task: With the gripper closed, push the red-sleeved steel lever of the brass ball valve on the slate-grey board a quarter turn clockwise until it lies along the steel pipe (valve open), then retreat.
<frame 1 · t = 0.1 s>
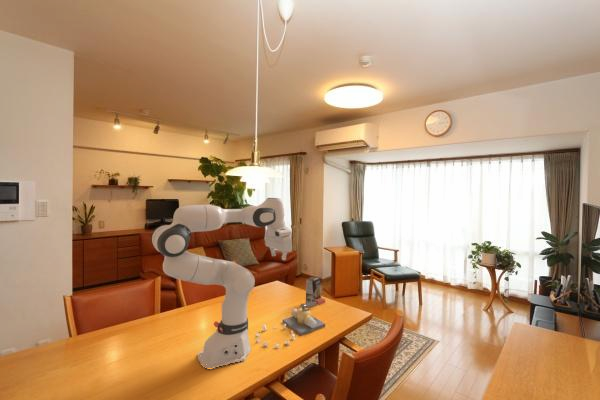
hand: (278, 257, 135), 39 cm above the table, tool pointing down, fingers open, 8 cm apart
valve lever: (312, 303, 151), point 10 cm above the table, hinge at 0.0°
coffee box: (313, 303, 176), on the table
valve base: (303, 324, 148), on the table
game piece set: (275, 338, 135), on the table
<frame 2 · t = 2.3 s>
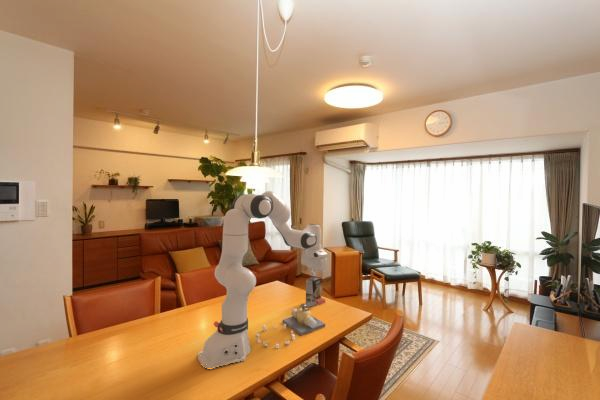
hand: (313, 275, 159), 23 cm above the table, tool pointing down, fingers closed
nothing on the table moved.
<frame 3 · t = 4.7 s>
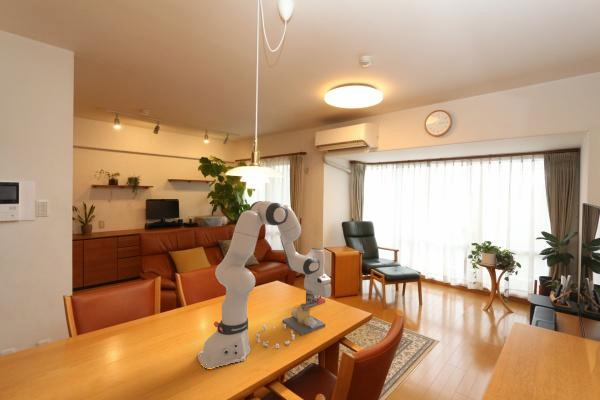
hand: (316, 300, 157), 10 cm above the table, tool pointing down, fingers closed
valve lever: (312, 303, 151), point 10 cm above the table, hinge at 0.0°, touching gripper
everything else where it was.
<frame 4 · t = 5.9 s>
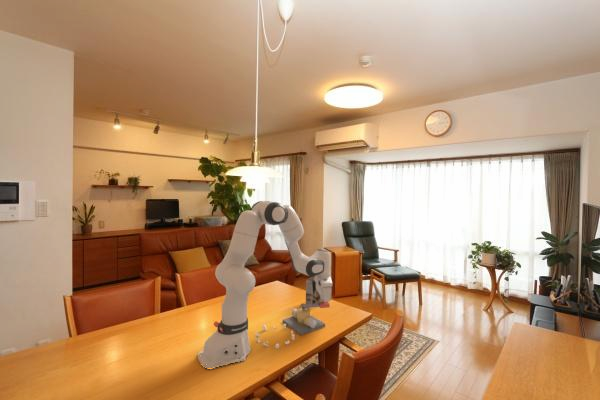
hand: (322, 303, 152), 10 cm above the table, tool pointing down, fingers closed
valve lever: (315, 305, 149), point 10 cm above the table, hinge at 24.7°, touching gripper
everything else where it was.
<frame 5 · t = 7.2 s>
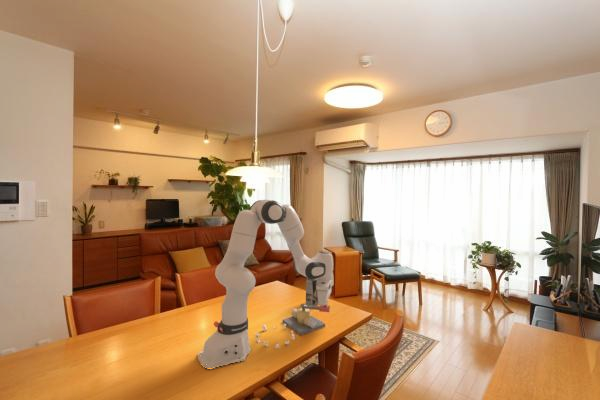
hand: (325, 306, 147), 10 cm above the table, tool pointing down, fingers closed
valve lever: (315, 307, 146), point 10 cm above the table, hinge at 50.1°, touching gripper
everything else where it was.
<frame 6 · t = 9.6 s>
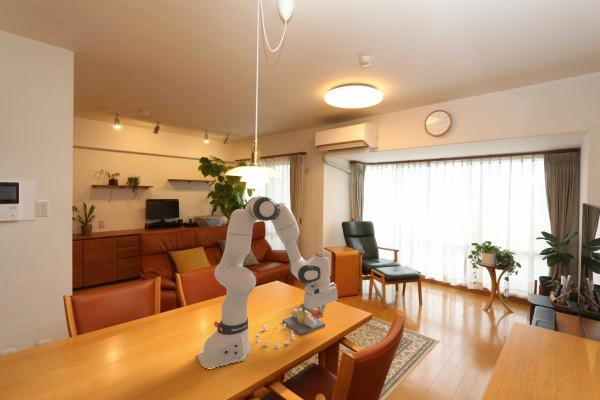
hand: (321, 312, 140), 10 cm above the table, tool pointing down, fingers closed
valve lever: (310, 310, 142), point 10 cm above the table, hinge at 90.5°, touching gripper
everything else where it was.
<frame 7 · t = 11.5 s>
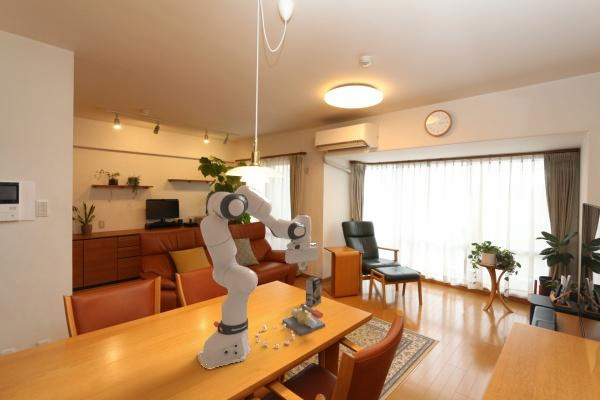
hand: (302, 269, 148), 29 cm above the table, tool pointing down, fingers closed
valve lever: (310, 310, 142), point 10 cm above the table, hinge at 90.5°
everything else where it was.
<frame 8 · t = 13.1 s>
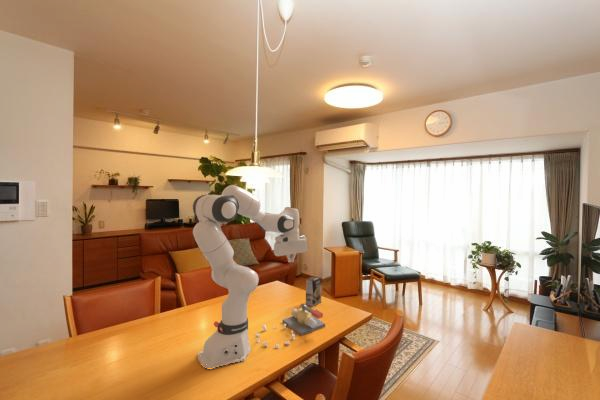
hand: (291, 262, 150), 33 cm above the table, tool pointing down, fingers closed
nothing on the table moved.
at the end: valve lever at +90° (first picture: +0°); coffee box moved 0.2 cm from its start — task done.
